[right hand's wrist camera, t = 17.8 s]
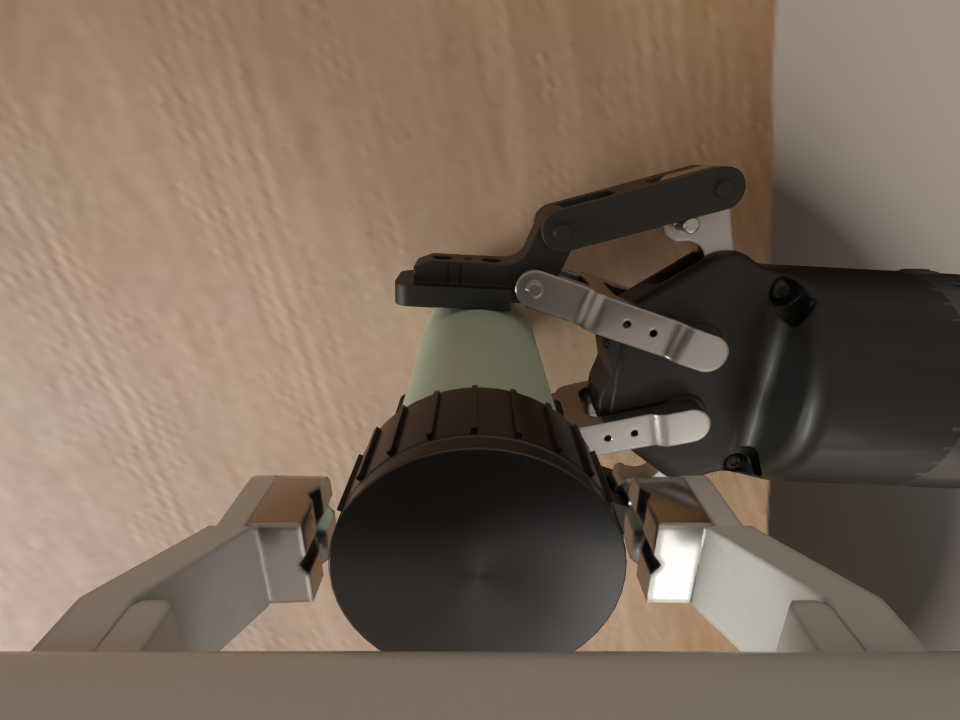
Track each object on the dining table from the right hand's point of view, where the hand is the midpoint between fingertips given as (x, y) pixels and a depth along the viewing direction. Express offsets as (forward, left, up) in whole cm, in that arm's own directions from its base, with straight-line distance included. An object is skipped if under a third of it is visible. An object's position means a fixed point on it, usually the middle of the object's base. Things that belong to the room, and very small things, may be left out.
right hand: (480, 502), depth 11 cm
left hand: (-2, -2, -8) cm, 8 cm away
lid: (0, 0, +2) cm, 2 cm away
